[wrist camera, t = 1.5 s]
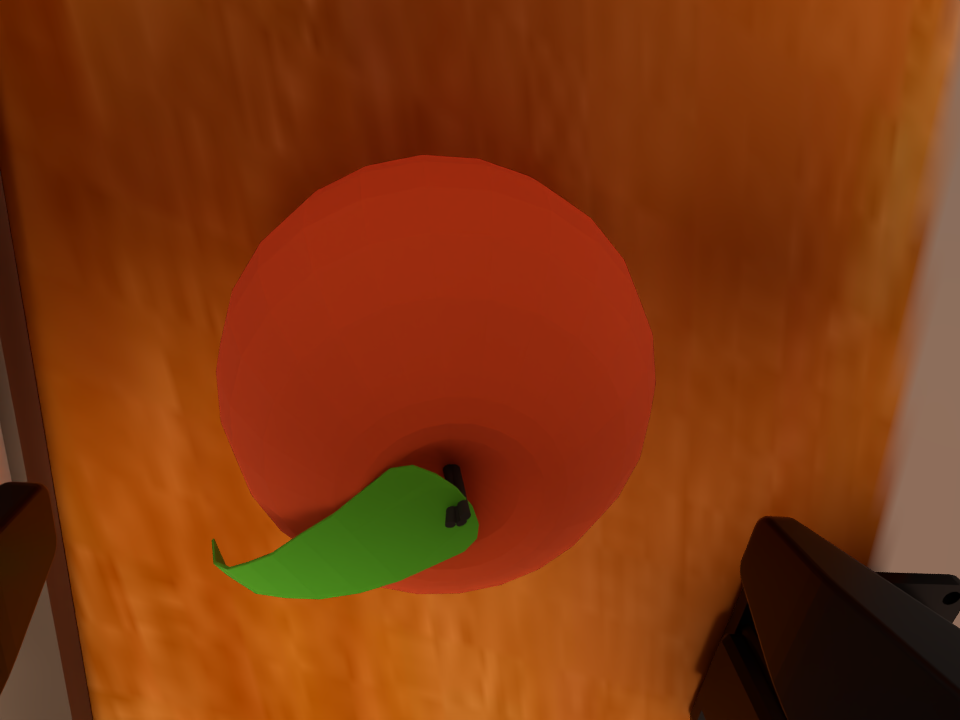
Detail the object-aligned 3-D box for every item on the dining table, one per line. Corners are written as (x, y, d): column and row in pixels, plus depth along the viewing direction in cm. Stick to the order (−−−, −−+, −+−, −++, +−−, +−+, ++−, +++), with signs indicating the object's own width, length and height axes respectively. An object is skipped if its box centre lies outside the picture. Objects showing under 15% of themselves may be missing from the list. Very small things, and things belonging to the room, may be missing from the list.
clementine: (355, 500, 17) (333, 798, 11) (139, 277, 14) (-59, 521, 8) (651, 326, 16) (813, 559, 10) (483, 35, 13) (564, 108, 7)
